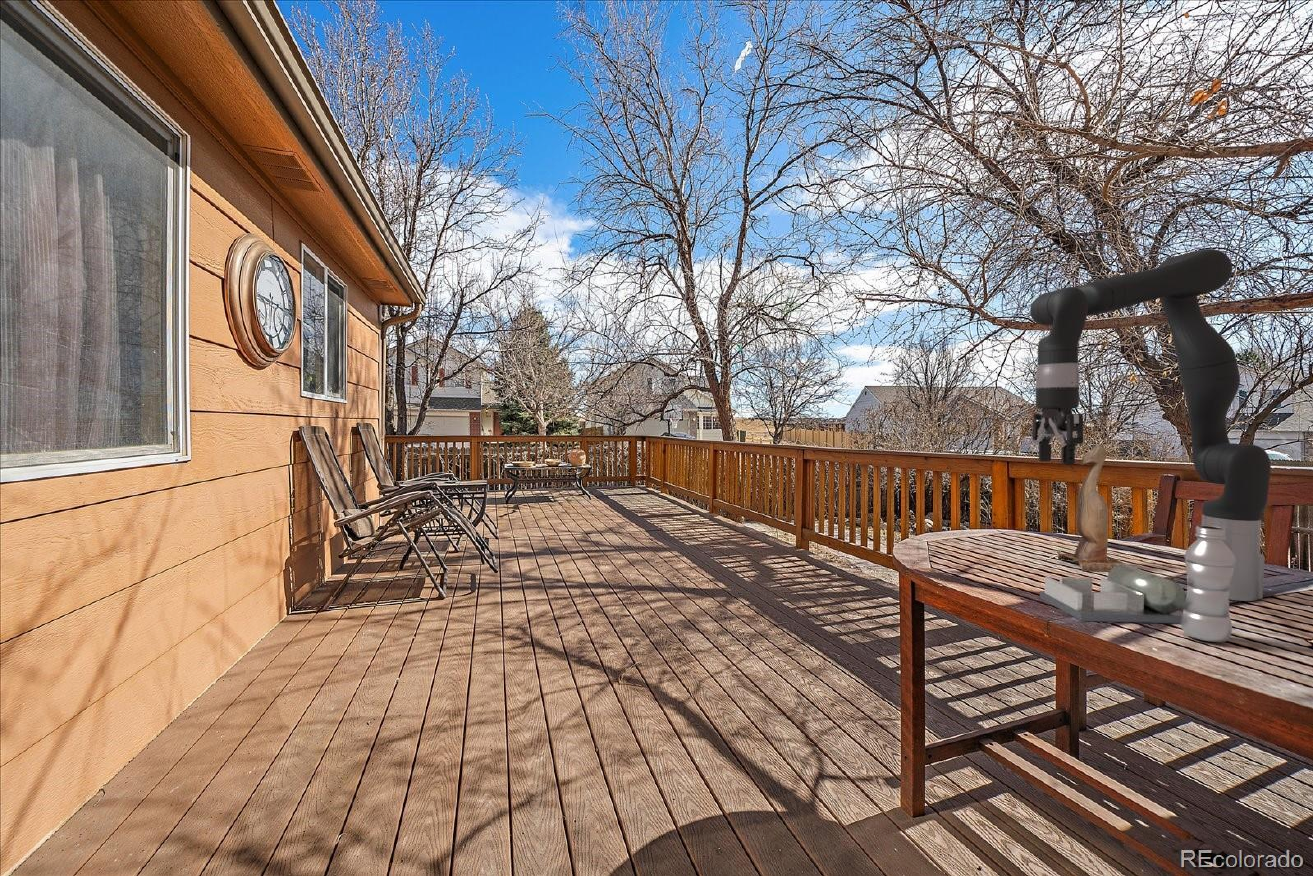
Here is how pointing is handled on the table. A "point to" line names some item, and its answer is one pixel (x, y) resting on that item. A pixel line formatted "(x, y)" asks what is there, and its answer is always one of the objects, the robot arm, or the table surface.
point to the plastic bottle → (1208, 586)
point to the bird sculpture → (1092, 519)
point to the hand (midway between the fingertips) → (1055, 462)
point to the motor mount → (1118, 597)
